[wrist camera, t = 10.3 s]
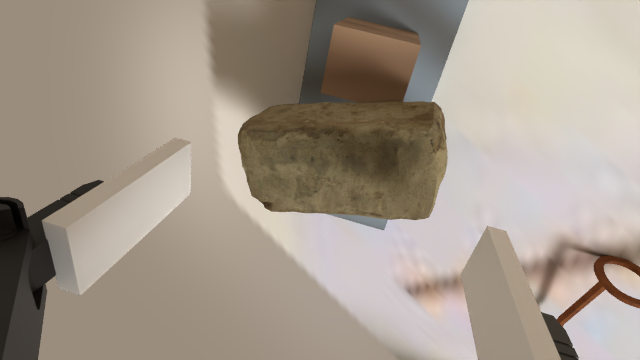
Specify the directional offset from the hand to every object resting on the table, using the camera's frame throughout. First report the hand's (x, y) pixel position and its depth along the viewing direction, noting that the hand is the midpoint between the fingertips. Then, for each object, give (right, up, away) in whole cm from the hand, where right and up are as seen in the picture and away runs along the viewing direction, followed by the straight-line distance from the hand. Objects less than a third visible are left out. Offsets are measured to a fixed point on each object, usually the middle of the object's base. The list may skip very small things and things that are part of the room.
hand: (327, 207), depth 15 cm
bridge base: (+3, +8, +13) cm, 16 cm away
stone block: (+2, +4, +8) cm, 9 cm away
